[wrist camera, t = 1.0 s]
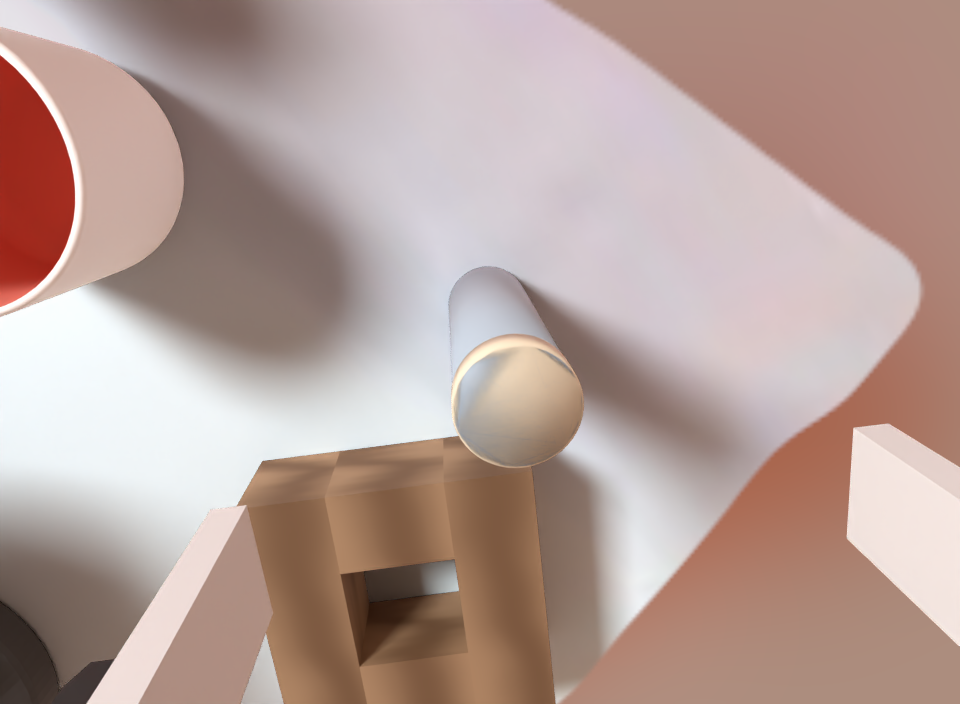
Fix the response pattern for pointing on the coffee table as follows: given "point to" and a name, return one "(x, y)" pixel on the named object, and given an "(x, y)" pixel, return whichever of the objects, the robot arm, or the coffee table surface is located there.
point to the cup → (77, 170)
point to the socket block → (392, 543)
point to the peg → (508, 374)
